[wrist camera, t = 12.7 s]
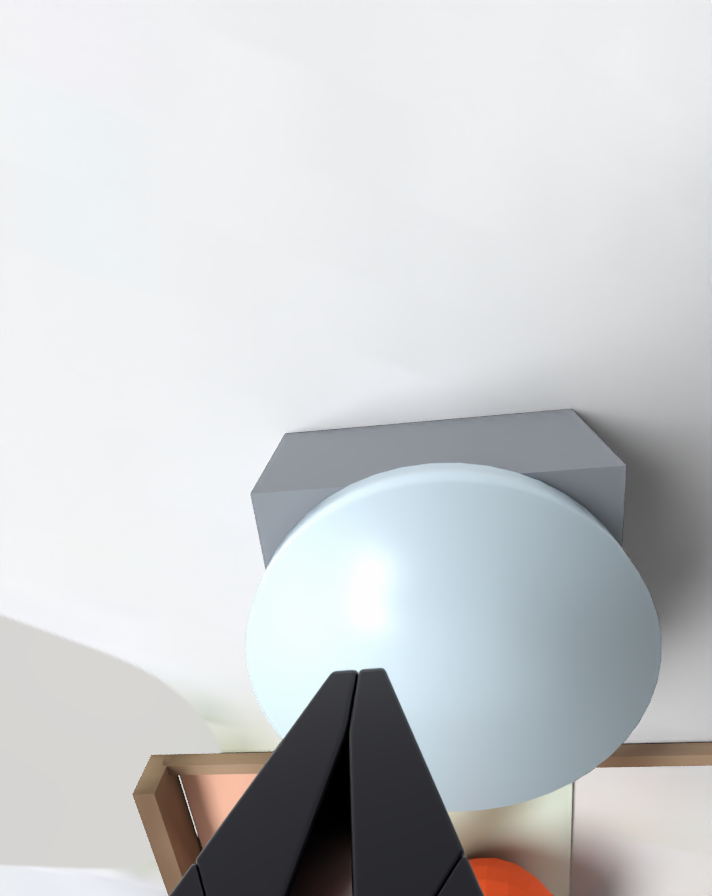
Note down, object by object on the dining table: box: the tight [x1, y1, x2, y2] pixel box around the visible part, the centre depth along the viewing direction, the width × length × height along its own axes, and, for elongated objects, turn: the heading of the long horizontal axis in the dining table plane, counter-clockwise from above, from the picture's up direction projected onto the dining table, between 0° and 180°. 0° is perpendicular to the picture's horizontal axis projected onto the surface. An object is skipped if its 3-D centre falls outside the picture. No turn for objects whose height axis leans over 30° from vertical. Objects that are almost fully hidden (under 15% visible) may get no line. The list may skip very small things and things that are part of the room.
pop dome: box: [246, 463, 661, 812], centre depth 18 cm, size 11×11×5 cm
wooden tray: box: [133, 742, 712, 896], centre depth 26 cm, size 29×11×2 cm, turn 97°
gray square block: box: [251, 409, 627, 569], centre depth 19 cm, size 10×10×5 cm
